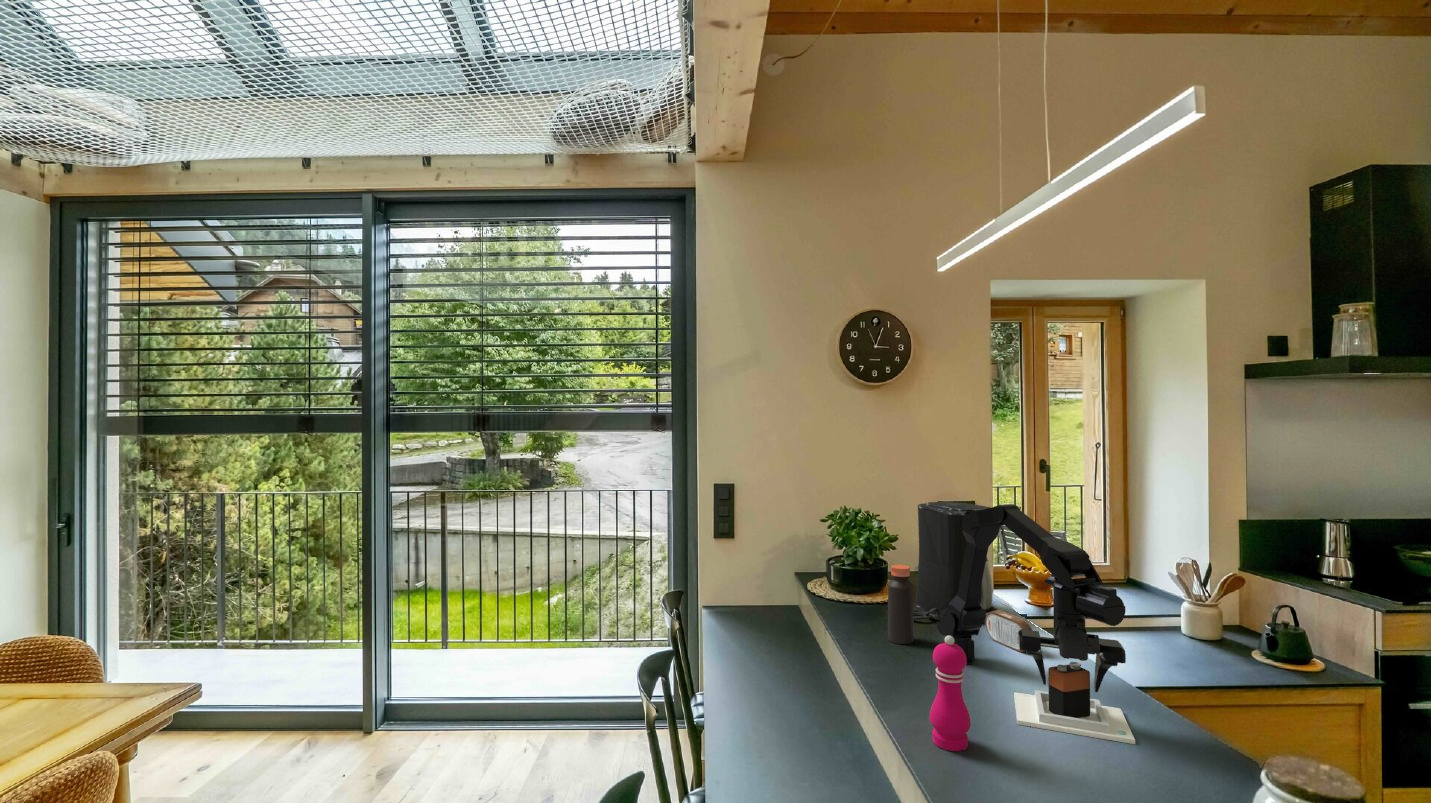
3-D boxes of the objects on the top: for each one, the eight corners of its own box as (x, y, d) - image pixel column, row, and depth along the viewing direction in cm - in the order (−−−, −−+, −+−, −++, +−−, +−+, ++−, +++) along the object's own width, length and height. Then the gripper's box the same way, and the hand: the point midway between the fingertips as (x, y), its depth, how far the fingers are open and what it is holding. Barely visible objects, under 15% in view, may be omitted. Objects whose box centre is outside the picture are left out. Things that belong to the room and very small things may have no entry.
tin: (1036, 655, 165) (1035, 622, 165) (1026, 656, 164) (1026, 623, 164) (992, 636, 179) (992, 605, 179) (983, 637, 178) (983, 606, 178)
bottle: (896, 634, 180) (895, 562, 180) (918, 640, 175) (918, 566, 175) (883, 640, 175) (883, 566, 176) (905, 646, 170) (905, 571, 171)
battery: (1091, 716, 129) (1091, 666, 130) (1064, 721, 127) (1064, 670, 128) (1073, 706, 134) (1073, 658, 134) (1047, 711, 132) (1047, 662, 132)
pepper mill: (923, 734, 124) (923, 629, 124) (959, 732, 124) (959, 628, 125) (939, 753, 117) (939, 643, 117) (978, 752, 117) (977, 641, 118)
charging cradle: (1017, 724, 128) (1017, 712, 128) (1014, 695, 141) (1014, 685, 141) (1135, 744, 120) (1135, 731, 120) (1120, 712, 133) (1120, 700, 133)
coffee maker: (1009, 611, 202) (1008, 503, 202) (963, 635, 179) (962, 514, 180) (940, 596, 218) (940, 496, 219) (890, 617, 195) (890, 506, 196)
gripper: (1020, 616, 127) (1021, 695, 127) (1131, 628, 120) (1132, 712, 119) (1017, 601, 137) (1018, 674, 137) (1119, 611, 130) (1120, 689, 130)
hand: (1069, 687), depth 130 cm, fingers open, 9 cm apart
